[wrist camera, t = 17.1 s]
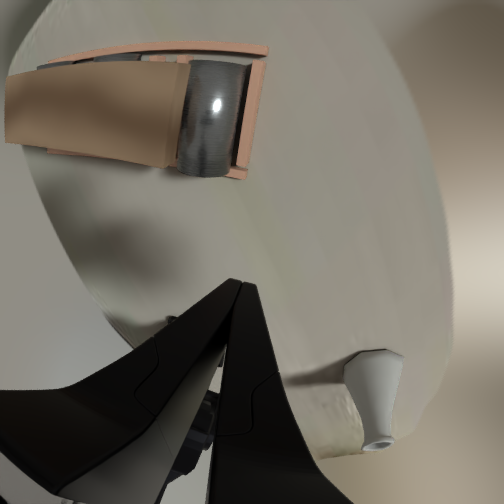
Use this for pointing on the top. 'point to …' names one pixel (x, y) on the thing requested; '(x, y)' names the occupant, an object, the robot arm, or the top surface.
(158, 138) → the walnut board
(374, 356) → the flask
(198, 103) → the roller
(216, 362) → the robot arm
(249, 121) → the roller track
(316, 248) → the top surface
